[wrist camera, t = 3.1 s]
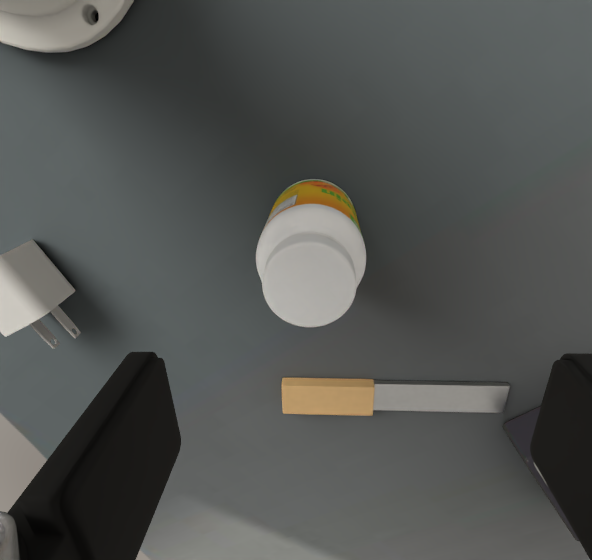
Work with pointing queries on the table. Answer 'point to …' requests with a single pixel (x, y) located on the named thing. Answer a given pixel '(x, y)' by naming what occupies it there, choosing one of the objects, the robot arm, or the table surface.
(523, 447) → the calculator
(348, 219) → the supplement bottle
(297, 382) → the chisel
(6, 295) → the usb wall charger
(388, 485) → the table surface
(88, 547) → the robot arm
